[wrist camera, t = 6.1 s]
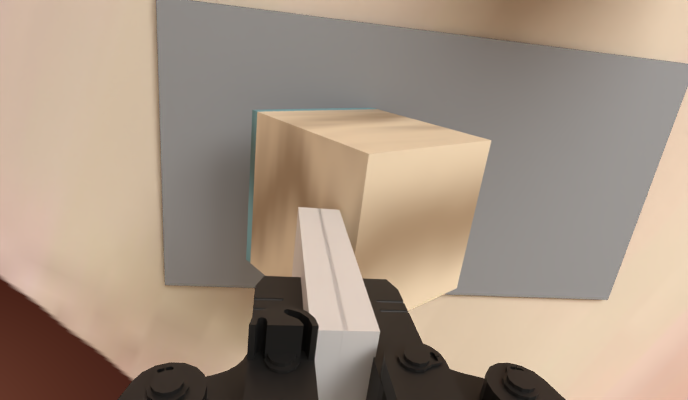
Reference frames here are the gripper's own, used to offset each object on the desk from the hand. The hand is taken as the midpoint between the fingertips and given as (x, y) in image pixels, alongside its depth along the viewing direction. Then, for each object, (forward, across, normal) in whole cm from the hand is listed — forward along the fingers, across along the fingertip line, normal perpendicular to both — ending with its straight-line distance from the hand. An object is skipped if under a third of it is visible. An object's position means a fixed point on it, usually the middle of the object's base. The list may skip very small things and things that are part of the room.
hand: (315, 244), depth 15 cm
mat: (+9, +7, 0) cm, 11 cm away
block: (+7, 0, 0) cm, 7 cm away
